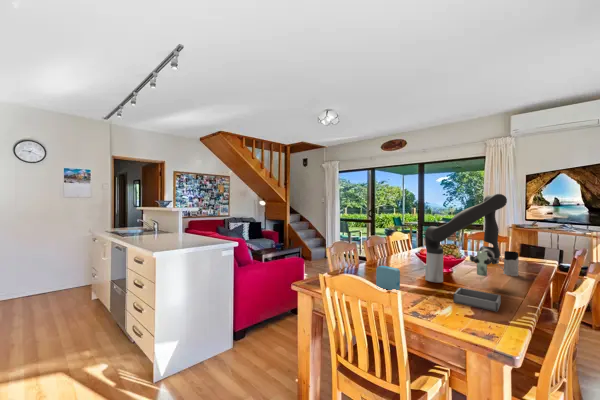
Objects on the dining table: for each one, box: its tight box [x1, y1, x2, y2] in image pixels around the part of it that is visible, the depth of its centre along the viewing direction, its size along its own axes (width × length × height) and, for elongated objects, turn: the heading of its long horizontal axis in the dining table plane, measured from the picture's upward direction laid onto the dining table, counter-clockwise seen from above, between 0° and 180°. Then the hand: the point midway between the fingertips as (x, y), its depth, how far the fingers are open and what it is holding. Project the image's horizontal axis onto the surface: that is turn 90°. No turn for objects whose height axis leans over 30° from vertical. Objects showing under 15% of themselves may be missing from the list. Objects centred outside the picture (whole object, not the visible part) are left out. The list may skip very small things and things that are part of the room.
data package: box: [375, 265, 401, 291], centre depth 156 cm, size 12×4×12 cm, turn 45°
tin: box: [476, 250, 488, 277], centre depth 147 cm, size 4×4×12 cm
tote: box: [453, 287, 502, 313], centre depth 136 cm, size 18×14×4 cm
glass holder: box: [496, 250, 520, 277], centre depth 191 cm, size 9×14×15 cm, turn 57°
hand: (481, 261), depth 145 cm, fingers closed on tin, 4 cm apart
